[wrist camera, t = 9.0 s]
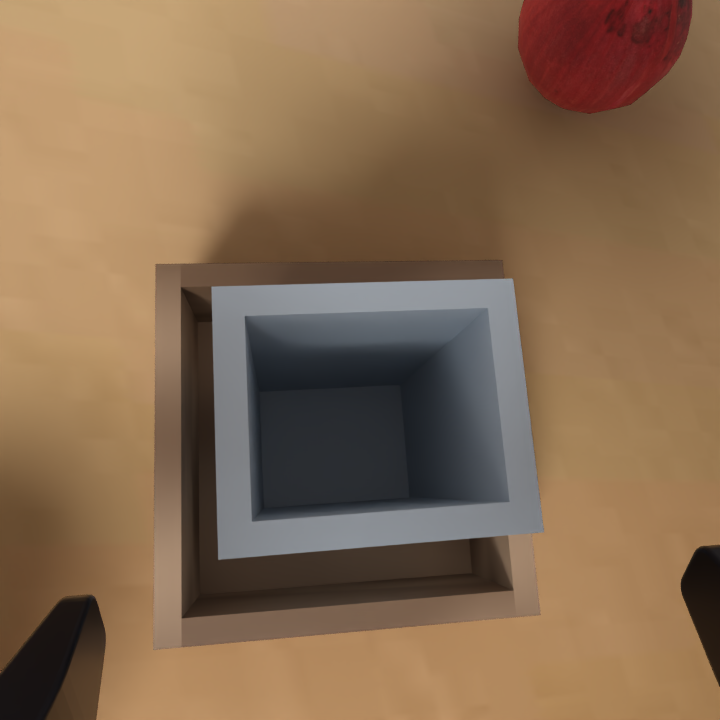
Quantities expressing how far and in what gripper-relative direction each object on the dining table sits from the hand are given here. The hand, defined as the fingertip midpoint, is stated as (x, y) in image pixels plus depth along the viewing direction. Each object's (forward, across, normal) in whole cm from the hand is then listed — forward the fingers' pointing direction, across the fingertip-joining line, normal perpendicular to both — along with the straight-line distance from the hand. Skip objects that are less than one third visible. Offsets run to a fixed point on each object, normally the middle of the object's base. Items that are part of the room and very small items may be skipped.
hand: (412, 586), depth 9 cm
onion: (+21, -10, -3) cm, 24 cm away
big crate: (+11, 0, +7) cm, 13 cm away
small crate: (+11, 0, +6) cm, 12 cm away
